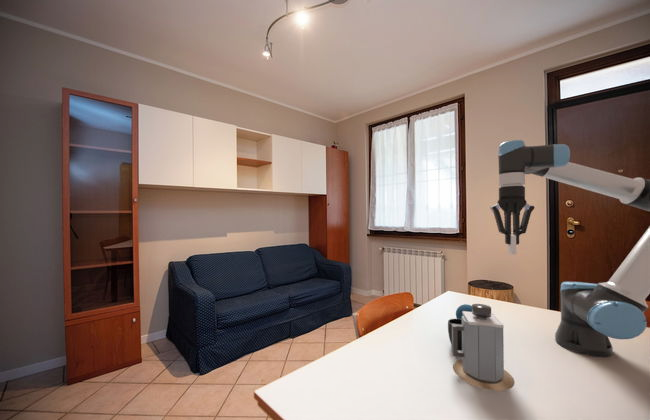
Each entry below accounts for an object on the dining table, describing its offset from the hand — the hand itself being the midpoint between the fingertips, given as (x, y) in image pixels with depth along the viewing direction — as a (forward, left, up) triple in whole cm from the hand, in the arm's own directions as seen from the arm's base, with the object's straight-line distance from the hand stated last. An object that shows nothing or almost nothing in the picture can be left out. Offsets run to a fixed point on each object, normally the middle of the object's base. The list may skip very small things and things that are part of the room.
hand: (512, 253), depth 95 cm
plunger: (+14, +17, -26) cm, 34 cm away
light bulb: (+12, -11, -35) cm, 38 cm away
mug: (+15, +1, -35) cm, 38 cm away
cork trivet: (+14, +17, -34) cm, 41 cm away
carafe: (+15, +17, -34) cm, 41 cm away
